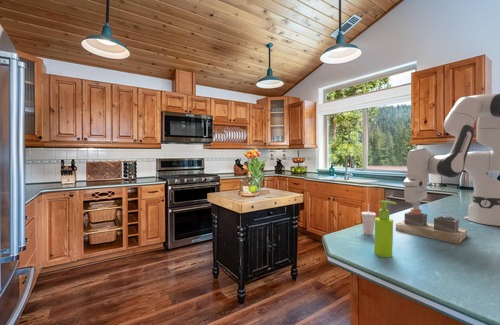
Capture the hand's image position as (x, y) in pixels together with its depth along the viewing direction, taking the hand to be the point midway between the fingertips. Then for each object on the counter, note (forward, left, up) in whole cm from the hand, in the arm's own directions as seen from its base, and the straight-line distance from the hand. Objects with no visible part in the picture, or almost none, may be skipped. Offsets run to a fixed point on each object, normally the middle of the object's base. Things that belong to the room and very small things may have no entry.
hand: (416, 209), depth 121 cm
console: (0, +6, -10) cm, 12 cm away
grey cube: (0, +12, -5) cm, 13 cm away
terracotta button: (0, 0, -4) cm, 4 cm away
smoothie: (+24, -12, -10) cm, 29 cm away
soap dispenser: (+43, +3, -10) cm, 44 cm away
